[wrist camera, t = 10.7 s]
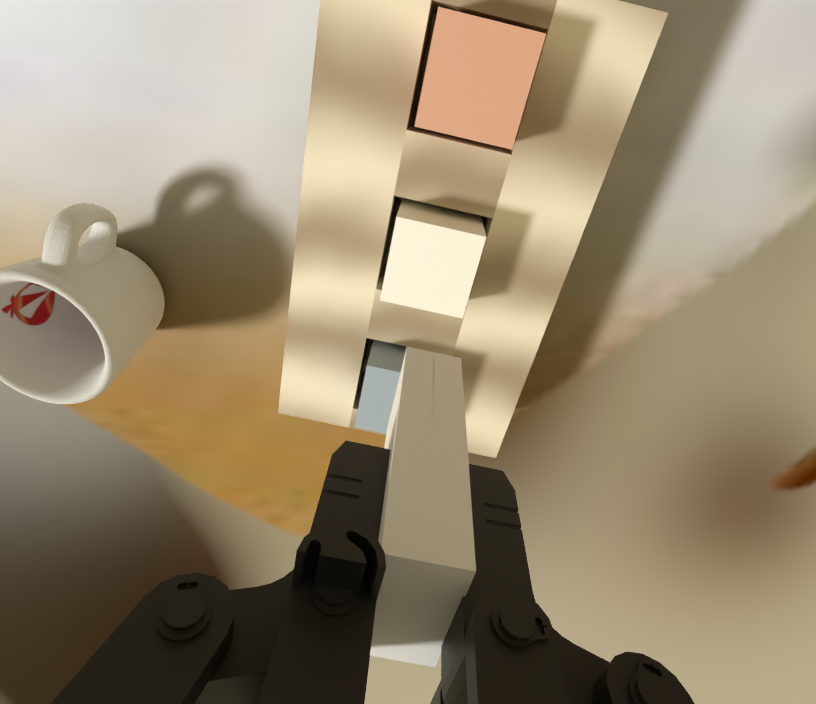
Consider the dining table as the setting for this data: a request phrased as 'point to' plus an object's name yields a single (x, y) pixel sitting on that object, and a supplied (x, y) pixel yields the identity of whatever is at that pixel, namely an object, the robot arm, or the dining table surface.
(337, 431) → the dining table surface
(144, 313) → the cup
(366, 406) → the key slate
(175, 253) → the dining table surface
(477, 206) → the console
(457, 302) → the key cream
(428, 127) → the key terracotta
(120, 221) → the dining table surface
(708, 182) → the dining table surface
